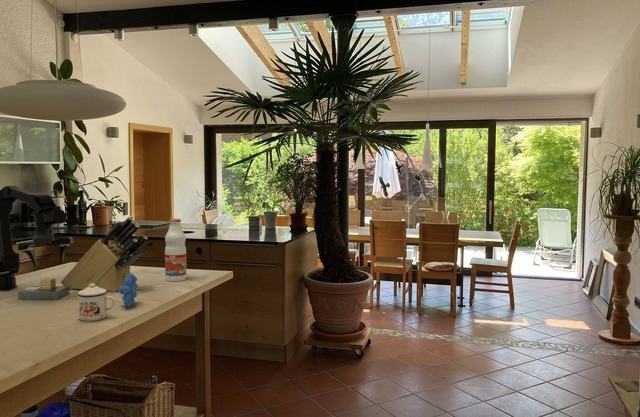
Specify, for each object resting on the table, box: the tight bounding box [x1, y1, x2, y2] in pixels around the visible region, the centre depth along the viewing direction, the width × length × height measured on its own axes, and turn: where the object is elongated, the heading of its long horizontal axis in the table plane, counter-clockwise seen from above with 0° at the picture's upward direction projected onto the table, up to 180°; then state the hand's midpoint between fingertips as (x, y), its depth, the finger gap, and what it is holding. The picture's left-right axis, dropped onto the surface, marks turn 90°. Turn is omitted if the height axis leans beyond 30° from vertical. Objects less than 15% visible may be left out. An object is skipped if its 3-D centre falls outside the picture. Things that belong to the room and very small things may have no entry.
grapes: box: [117, 272, 139, 308], centre depth 189 cm, size 12×7×12 cm, turn 3°
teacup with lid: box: [77, 284, 116, 322], centre depth 174 cm, size 12×9×12 cm
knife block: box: [60, 215, 148, 293], centre depth 215 cm, size 11×35×31 cm, turn 78°
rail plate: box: [17, 285, 71, 301], centre depth 202 cm, size 15×10×3 cm, turn 91°
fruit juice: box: [164, 218, 187, 282], centre depth 233 cm, size 9×9×28 cm
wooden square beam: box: [39, 277, 57, 291], centre depth 202 cm, size 4×4×7 cm
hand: (48, 265), depth 200 cm, fingers open, 9 cm apart
